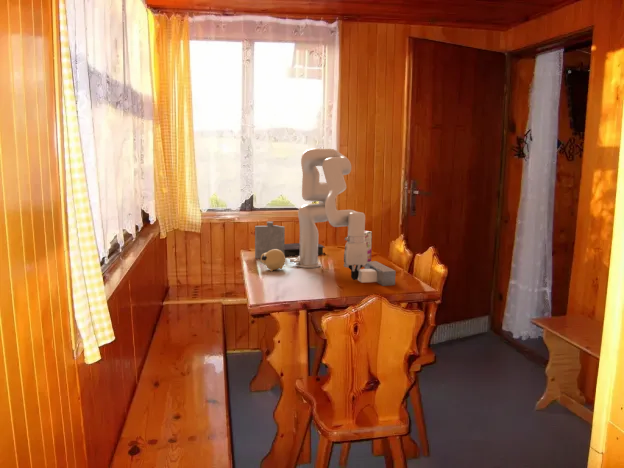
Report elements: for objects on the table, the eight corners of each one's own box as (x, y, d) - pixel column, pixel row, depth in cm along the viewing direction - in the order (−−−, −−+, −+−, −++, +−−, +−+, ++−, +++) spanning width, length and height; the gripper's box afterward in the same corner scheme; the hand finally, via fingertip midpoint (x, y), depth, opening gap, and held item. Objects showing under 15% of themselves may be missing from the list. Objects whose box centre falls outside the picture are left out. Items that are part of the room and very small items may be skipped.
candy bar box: (363, 260, 276) (364, 230, 273) (371, 261, 273) (372, 231, 271) (352, 263, 267) (353, 232, 265) (360, 265, 265) (361, 234, 262)
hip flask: (254, 258, 275) (254, 222, 271) (255, 256, 279) (255, 220, 275) (284, 259, 275) (284, 222, 271) (284, 257, 279) (284, 221, 275)
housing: (382, 285, 225) (383, 271, 224) (364, 275, 244) (364, 261, 243) (395, 285, 227) (395, 270, 226) (375, 274, 246) (376, 261, 245)
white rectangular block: (361, 282, 230) (361, 271, 229) (357, 279, 235) (357, 269, 234) (389, 280, 234) (390, 270, 233) (385, 278, 239) (385, 267, 238)
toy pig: (262, 267, 255) (262, 246, 253) (286, 268, 255) (286, 247, 253) (259, 272, 245) (259, 250, 243) (284, 272, 245) (284, 251, 243)
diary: (274, 251, 297) (274, 243, 296) (314, 249, 305) (315, 241, 304) (282, 257, 280) (282, 248, 279) (325, 255, 287) (325, 247, 287)
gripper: (343, 241, 222) (342, 282, 225) (374, 240, 227) (373, 280, 230) (337, 238, 229) (336, 278, 233) (367, 237, 234) (366, 276, 237)
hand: (354, 279), depth 231 cm, fingers closed
